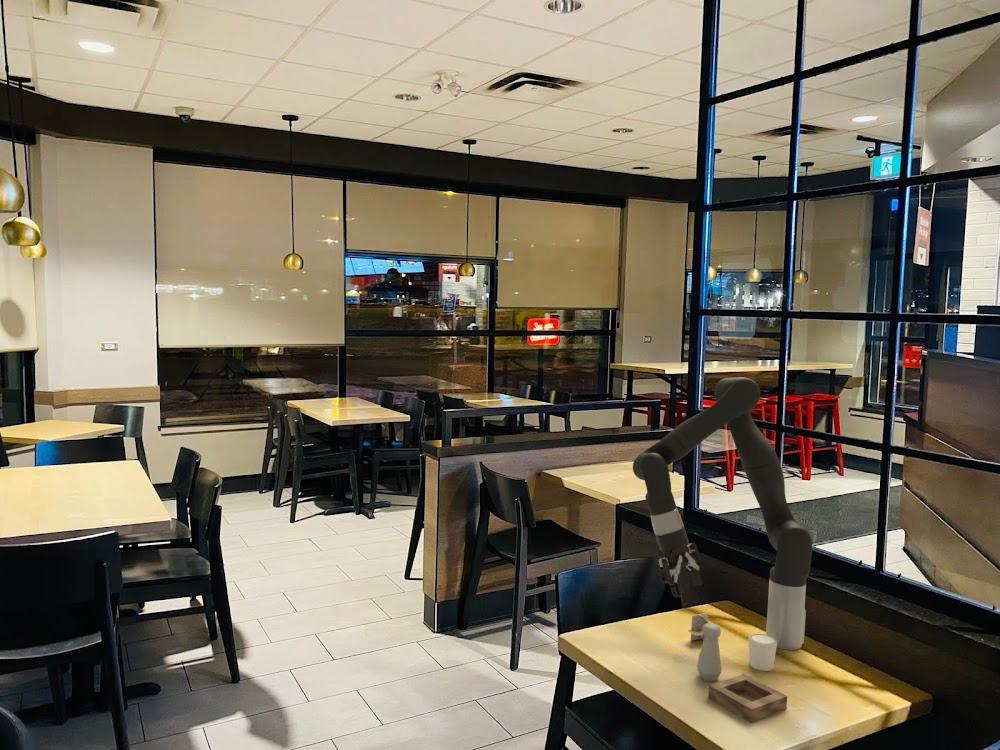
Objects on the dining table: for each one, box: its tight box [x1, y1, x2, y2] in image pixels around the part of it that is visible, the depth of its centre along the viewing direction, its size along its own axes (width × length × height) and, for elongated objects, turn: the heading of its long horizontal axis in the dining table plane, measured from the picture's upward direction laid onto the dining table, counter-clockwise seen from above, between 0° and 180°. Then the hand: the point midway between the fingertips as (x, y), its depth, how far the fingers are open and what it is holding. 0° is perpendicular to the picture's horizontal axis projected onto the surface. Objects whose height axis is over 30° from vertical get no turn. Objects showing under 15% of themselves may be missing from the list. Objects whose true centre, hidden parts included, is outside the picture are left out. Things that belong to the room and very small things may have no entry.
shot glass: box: [748, 633, 778, 672], centre depth 188 cm, size 7×7×7 cm
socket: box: [707, 673, 788, 723], centre depth 169 cm, size 12×12×3 cm
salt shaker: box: [696, 622, 723, 682], centre depth 180 cm, size 6×6×13 cm
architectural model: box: [688, 612, 714, 641], centre depth 201 cm, size 3×7×7 cm, turn 116°
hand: (688, 591), depth 188 cm, fingers open, 8 cm apart
